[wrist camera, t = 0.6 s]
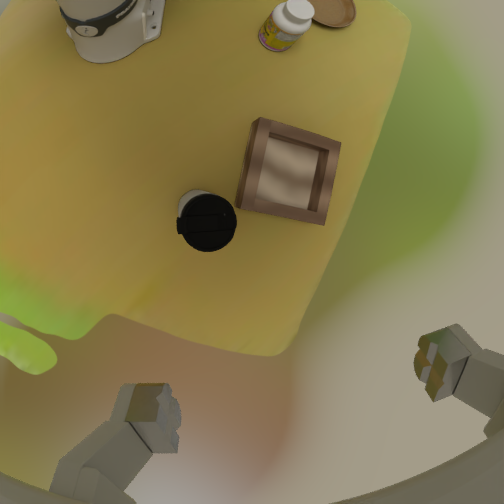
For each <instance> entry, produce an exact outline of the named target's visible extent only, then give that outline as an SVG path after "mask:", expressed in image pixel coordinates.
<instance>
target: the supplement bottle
mask: <svg viewBox="0 0 504 504" xmlns="http://www.w3.org/2000/svg"><path fill="white" fill-rule="evenodd" d="M314 13H315V12H314V8H313V6H312V5H311V3H310V2H308V1H307V0H288V1H287V2H284V3H281V4H279V5H277V6H276V7H275V9H274V10H273V11H272V13H271V14H270V16H269V17H268V19H267V20H266V21H265V23H264V24H263V26H262V27H261V29H260V31H259V39H260V41H261V43H262V44H263V45H264V46H265V47H266V48H268V49H270V50H273V51H284V50H286V49H288V48H289V47H290V46H291V45H292V44H294V43H295V42H296V41H297V40H298V39H299V38H300V37H301V36H302V35H303V34H304V33H305V32H306V31H307V30H308V29H309V28H310V26H311V18H312V17H313V15H314Z"/></svg>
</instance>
